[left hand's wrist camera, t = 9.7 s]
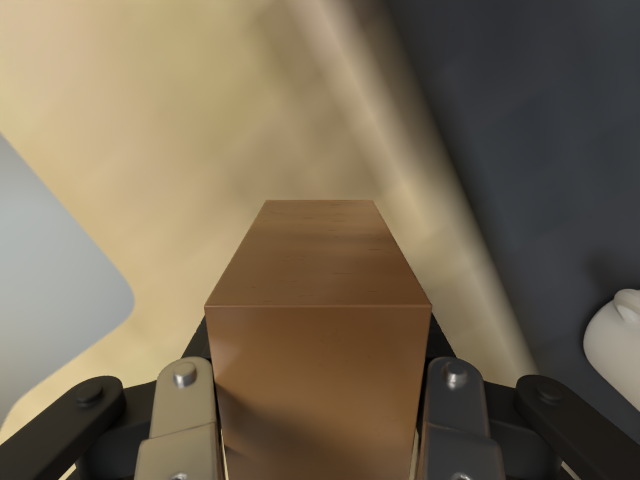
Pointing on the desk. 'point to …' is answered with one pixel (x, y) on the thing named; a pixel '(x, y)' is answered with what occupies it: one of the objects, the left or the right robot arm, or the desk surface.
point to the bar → (318, 346)
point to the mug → (617, 344)
